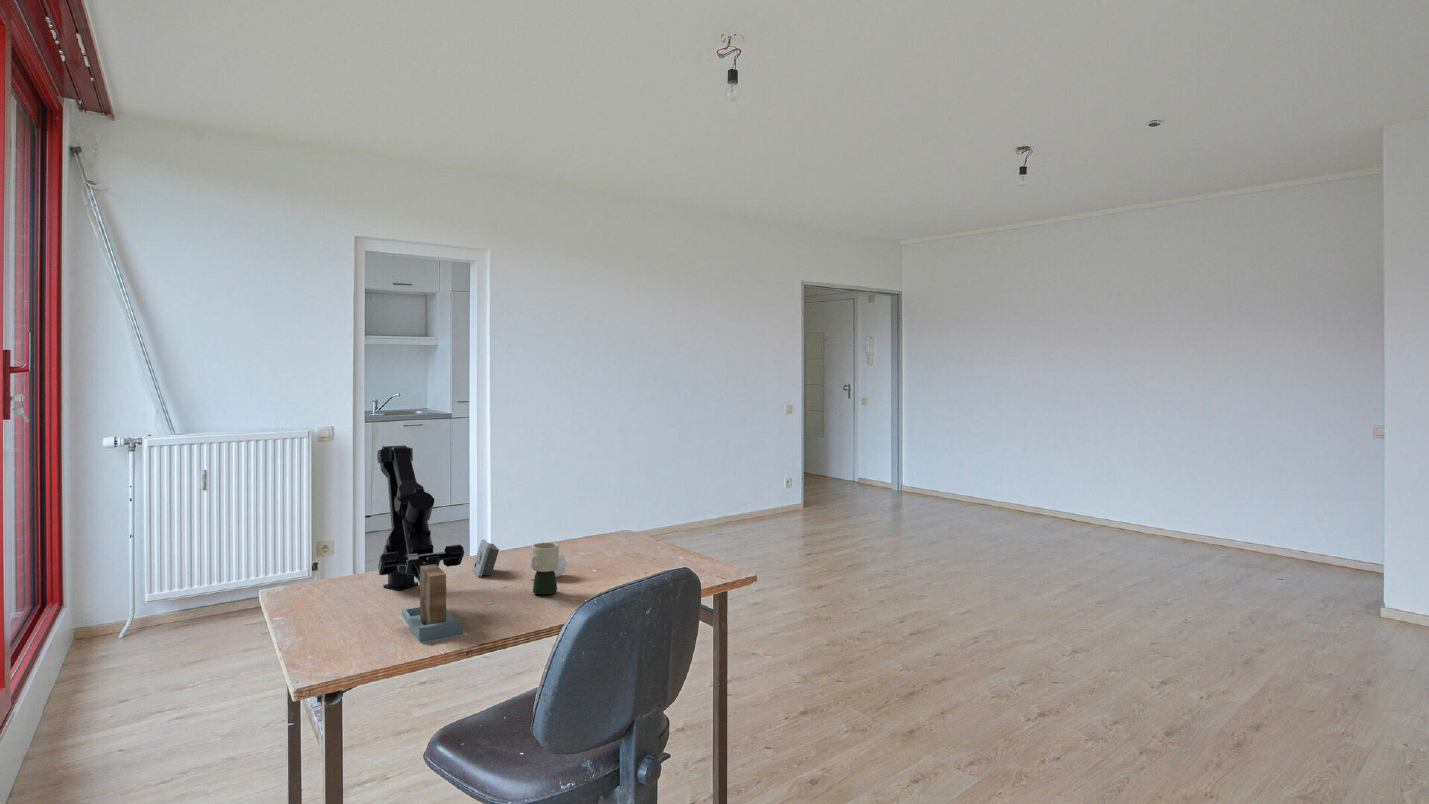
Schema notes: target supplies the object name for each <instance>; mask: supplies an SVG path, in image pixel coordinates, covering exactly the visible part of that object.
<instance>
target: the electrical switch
mask: <svg viewBox="0 0 1429 804" xmlns="http://www.w3.org/2000/svg"><path fill="white" fill-rule="evenodd" d="M499 550H500V549H499V548H498V547H497V545H495V544H494V543H489V542H488V541H487V540H486V539H483V538H482V539H481V540H480V544H479V546H478V549H477V553H476V556H475V560H474V563H473V565H472V566H473V567H472V570H473V572H474V574H475V575H476V576H477V577H478V578H482V576H489V577H490V576H491V577H492V574H493V571H494V569H495V565H496V561H497V558H498V554H499Z"/></svg>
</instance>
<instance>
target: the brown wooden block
mask: <svg viewBox="0 0 1429 804" xmlns="http://www.w3.org/2000/svg"><path fill="white" fill-rule="evenodd" d="M419 607H420V621H421V623H422V624H423V625H429V624H435V623H441V622H446V609H447V574H446V573H445V572H444V571H443V569H441V568H440V567H439V566H437V565H436V564H432V565H425V566H420V583H419Z"/></svg>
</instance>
